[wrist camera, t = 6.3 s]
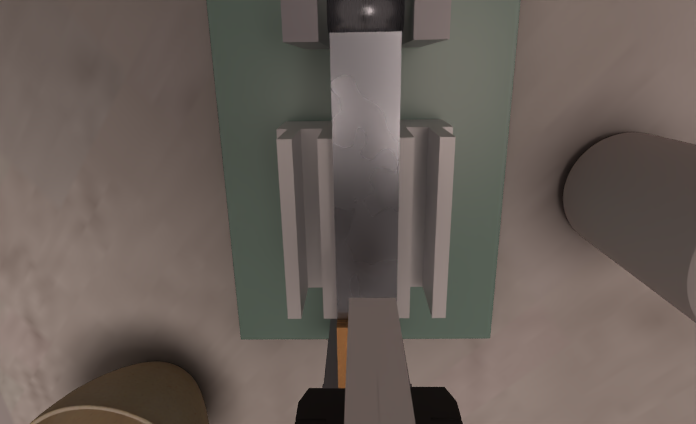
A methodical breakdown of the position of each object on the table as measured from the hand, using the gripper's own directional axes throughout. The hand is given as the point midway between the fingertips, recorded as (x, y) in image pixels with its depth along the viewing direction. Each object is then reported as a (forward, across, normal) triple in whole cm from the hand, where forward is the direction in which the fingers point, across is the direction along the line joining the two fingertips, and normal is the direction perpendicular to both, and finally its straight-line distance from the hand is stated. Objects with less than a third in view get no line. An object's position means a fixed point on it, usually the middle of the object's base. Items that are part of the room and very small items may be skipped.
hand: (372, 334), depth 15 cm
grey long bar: (+5, 0, +3) cm, 6 cm away
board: (+12, 0, +2) cm, 12 cm away
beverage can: (+12, +14, +2) cm, 18 cm away
